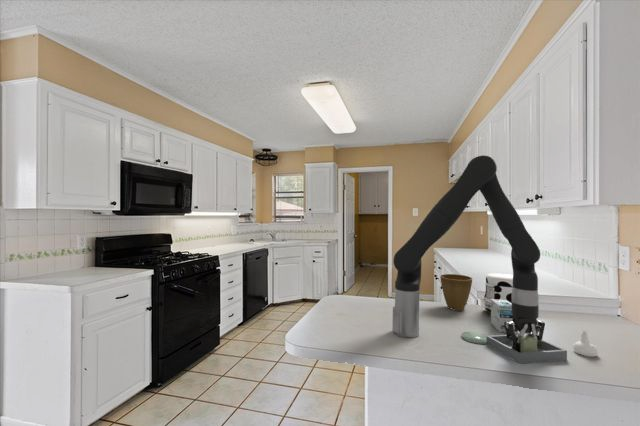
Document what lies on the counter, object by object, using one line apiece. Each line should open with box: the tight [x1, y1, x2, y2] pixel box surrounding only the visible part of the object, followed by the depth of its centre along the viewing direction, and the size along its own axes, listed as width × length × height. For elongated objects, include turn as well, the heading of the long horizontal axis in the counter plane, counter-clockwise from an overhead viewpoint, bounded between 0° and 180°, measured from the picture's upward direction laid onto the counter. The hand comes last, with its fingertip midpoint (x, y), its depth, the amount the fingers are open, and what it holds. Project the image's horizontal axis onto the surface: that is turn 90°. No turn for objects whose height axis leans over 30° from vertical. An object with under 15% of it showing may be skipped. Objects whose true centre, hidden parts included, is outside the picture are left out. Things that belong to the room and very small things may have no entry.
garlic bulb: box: [572, 330, 599, 358], centre depth 105 cm, size 6×6×8 cm
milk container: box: [482, 273, 513, 314], centre depth 147 cm, size 17×17×18 cm
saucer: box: [461, 331, 488, 345], centre depth 116 cm, size 10×10×1 cm
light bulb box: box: [490, 299, 513, 333], centre depth 127 cm, size 11×7×11 cm, turn 168°
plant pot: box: [439, 273, 473, 311], centre depth 155 cm, size 15×15×16 cm
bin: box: [486, 334, 568, 364], centre depth 105 cm, size 18×15×3 cm
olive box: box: [511, 334, 538, 353], centre depth 103 cm, size 5×5×6 cm
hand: (524, 352), depth 103 cm, fingers closed on olive box, 5 cm apart
